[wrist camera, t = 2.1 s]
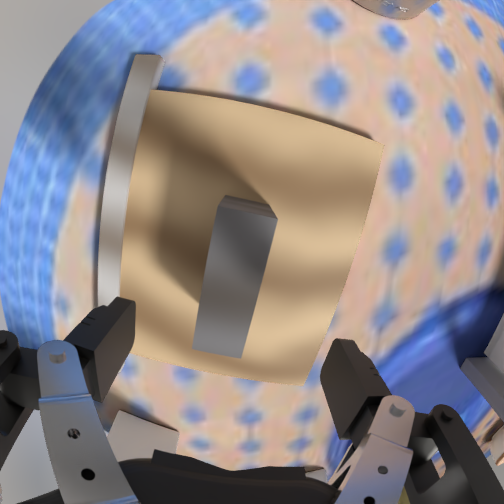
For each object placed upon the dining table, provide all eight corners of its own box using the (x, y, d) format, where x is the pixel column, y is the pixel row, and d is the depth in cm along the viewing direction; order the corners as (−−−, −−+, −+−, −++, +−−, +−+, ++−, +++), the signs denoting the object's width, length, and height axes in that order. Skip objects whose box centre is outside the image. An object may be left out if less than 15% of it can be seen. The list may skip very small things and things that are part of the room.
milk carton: (168, 456, 27) (144, 581, 9) (115, 436, 26) (74, 556, 8) (180, 431, 26) (154, 583, 7) (119, 408, 25) (65, 552, 6)
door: (144, 62, 16) (106, 28, 10) (381, 115, 17) (431, 100, 11) (109, 355, 23) (81, 401, 17) (292, 393, 24) (301, 446, 18)
